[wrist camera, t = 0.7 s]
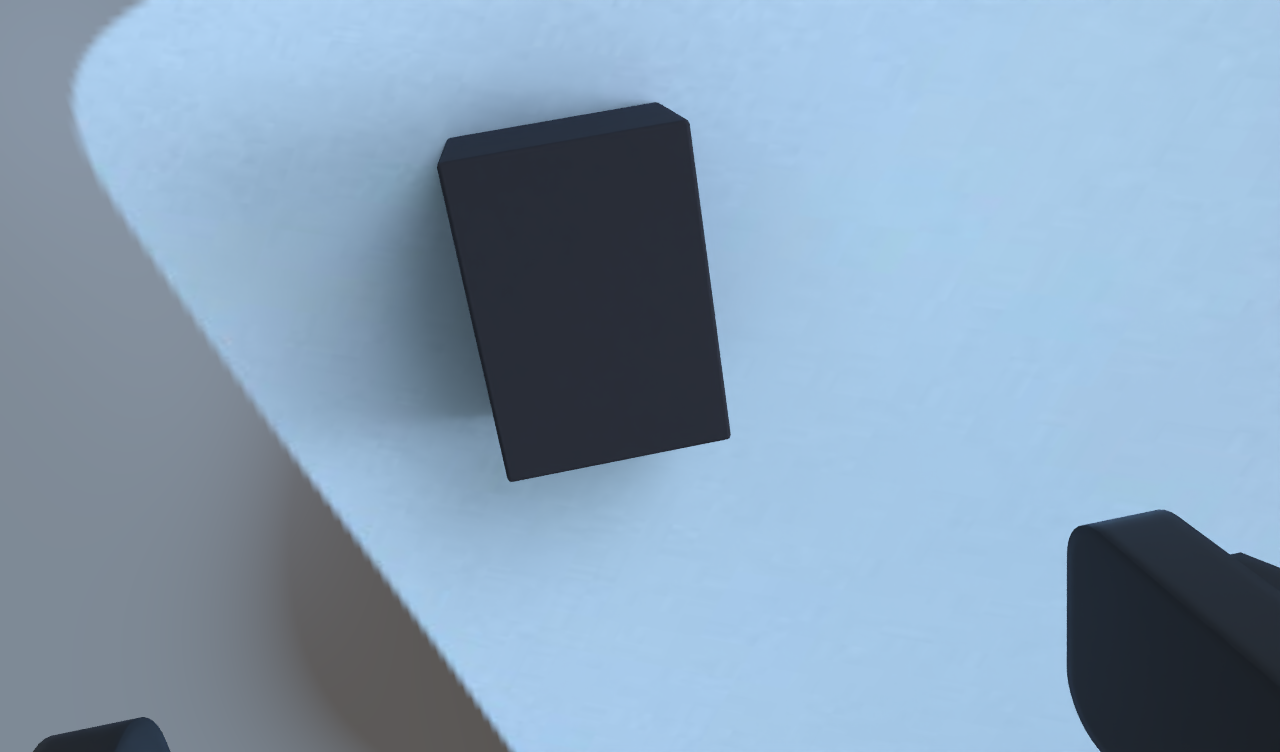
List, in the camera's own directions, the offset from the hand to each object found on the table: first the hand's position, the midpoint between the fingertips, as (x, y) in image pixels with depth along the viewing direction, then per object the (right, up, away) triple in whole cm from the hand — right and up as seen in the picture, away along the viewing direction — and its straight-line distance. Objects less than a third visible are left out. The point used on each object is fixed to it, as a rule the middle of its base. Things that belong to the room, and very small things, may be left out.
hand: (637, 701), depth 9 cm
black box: (-1, +6, +16) cm, 17 cm away
